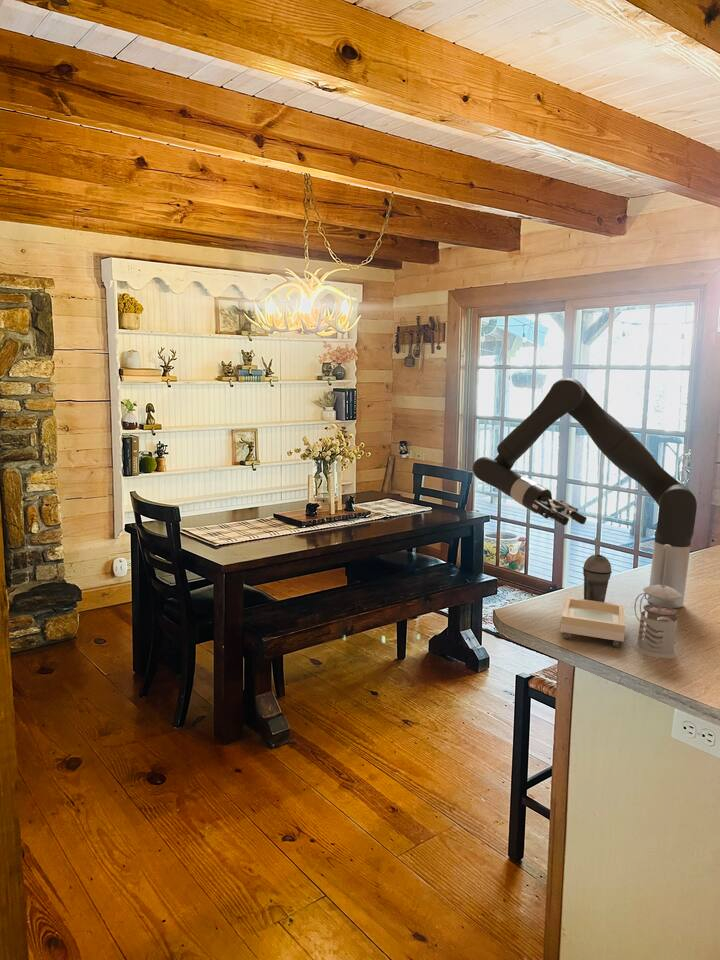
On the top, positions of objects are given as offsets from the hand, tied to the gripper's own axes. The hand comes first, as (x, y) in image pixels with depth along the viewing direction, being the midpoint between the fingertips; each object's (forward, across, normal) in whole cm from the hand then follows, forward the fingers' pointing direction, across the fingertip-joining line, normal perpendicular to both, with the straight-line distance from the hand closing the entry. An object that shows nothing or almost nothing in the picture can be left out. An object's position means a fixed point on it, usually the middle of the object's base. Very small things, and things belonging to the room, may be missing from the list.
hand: (576, 521), depth 190 cm
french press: (+36, -10, +14) cm, 39 cm away
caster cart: (+22, -13, +18) cm, 32 cm away
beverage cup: (+14, +2, +20) cm, 24 cm away
